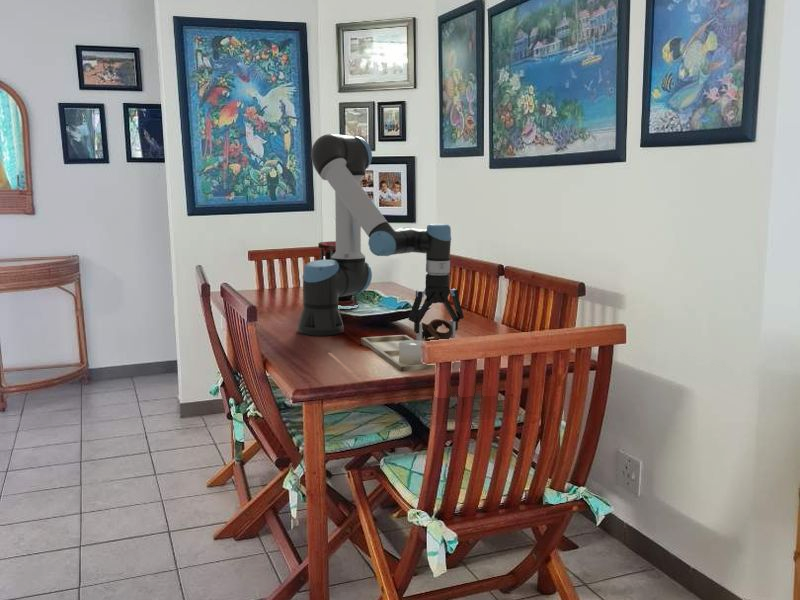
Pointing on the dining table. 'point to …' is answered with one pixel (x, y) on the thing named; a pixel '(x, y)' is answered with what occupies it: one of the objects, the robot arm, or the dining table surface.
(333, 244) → the hourglass
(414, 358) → the grey short cylinder
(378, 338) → the tray
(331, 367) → the dining table surface
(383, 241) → the robot arm
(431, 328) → the dark brown looped part
